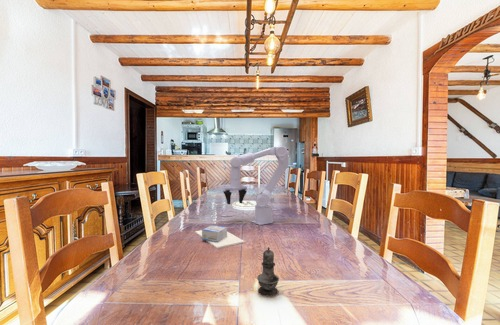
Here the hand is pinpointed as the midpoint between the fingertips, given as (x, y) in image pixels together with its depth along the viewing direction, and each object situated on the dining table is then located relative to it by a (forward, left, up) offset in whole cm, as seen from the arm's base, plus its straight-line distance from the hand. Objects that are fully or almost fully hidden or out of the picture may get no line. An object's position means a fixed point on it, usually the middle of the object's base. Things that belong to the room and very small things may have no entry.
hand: (234, 203), depth 135 cm
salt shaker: (+27, +65, -11) cm, 71 cm away
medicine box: (+18, +18, -8) cm, 26 cm away
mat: (+19, +18, -10) cm, 28 cm away
